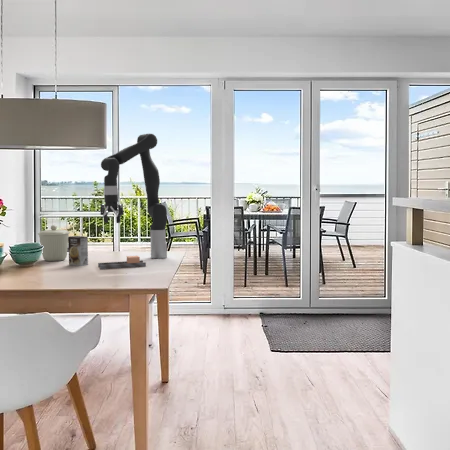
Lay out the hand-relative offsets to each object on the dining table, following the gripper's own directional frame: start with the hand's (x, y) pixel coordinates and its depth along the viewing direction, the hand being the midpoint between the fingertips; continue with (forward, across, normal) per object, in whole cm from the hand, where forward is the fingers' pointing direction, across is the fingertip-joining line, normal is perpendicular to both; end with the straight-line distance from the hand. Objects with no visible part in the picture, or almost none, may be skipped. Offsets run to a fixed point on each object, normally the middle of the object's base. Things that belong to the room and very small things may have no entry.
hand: (112, 222), depth 285 cm
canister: (+24, +43, +2) cm, 49 cm away
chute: (+24, -14, +10) cm, 29 cm away
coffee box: (+24, +17, +10) cm, 31 cm away
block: (+22, -18, +6) cm, 29 cm away
